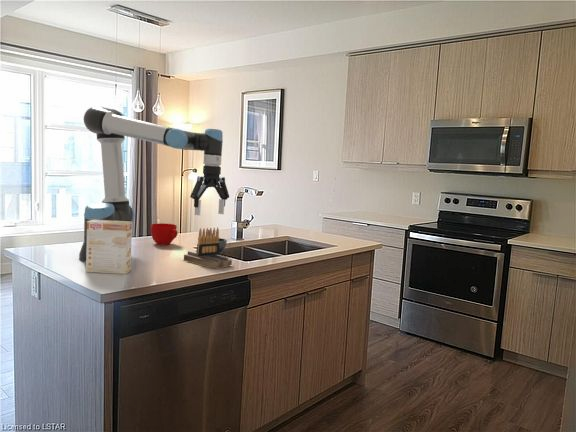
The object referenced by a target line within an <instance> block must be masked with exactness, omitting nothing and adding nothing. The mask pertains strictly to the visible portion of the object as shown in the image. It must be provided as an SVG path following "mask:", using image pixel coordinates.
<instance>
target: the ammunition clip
mask: <svg viewBox="0 0 576 432" xmlns="http://www.w3.org/2000/svg"><path fill="white" fill-rule="evenodd" d="M208 230H210V231H208ZM212 234H213V235H212ZM219 238H220V229H219V227H218V226H217V227H216V228H215V227H213V230H212V227H210V228H208V227H206V229H205V228H203V229H202V228H201V227H200V228H199V231H198V237H197V244H196V251H197V254H196V255H197V256H206V255H216V254H219Z"/></svg>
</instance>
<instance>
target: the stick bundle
mask: <svg viewBox="0 0 576 432" xmlns="http://www.w3.org/2000/svg"><path fill="white" fill-rule="evenodd" d="M196 254H197V250H196V252H193V251H187V253H186V254H183V261H186V262H190V263H193V264H196V265H198V266H199V265H200V266H203V267H206V268H210V269H212V270H213V269H214V270H215V269H216V270H217V269H221V268H226V266H228V267H231V266H230V265H232V262H233V260H232V259H229V257H227V256H226V257H225V256H222V255H206V256H197V255H196Z"/></svg>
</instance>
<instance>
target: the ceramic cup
mask: <svg viewBox="0 0 576 432" xmlns="http://www.w3.org/2000/svg"><path fill="white" fill-rule="evenodd" d="M177 227H178V226H177V224H174V223H163V222H162V223H159V222H158V223H151V224H150V235H151V238H152V239H153V242H154V243H156V245H158V246H169V245H170V244H171V243H172V242H173V241H174V239H176V238H177V236H178V230H177Z"/></svg>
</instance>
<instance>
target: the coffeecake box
mask: <svg viewBox="0 0 576 432" xmlns="http://www.w3.org/2000/svg"><path fill="white" fill-rule="evenodd" d="M132 236H133V223H132V221H113V220H95V219H93V220H90V221H87V247H86V261H85V262H86V263H85V265H86V266H85V272H86V273H99V274H101V273H102V274H118V275H127V274H128V273H129V272H130V271H132V246H133V245H132V242H133V240H132V238H133V237H132Z"/></svg>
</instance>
